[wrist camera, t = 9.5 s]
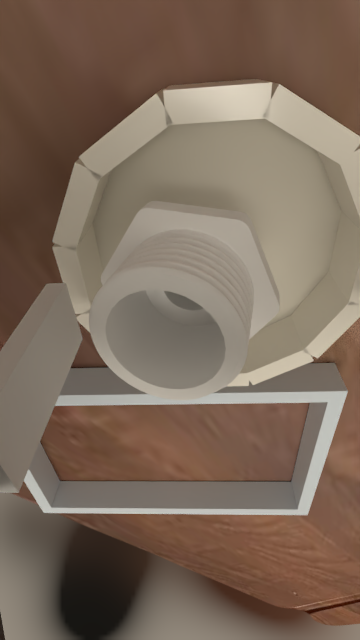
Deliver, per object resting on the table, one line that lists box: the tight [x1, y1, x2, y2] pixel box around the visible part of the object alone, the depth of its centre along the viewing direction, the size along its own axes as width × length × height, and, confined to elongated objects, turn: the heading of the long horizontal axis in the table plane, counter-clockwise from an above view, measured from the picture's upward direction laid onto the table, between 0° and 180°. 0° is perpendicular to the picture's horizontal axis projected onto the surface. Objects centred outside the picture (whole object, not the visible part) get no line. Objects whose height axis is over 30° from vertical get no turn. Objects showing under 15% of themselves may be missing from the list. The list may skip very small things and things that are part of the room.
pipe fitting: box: [89, 201, 280, 400], centre depth 14 cm, size 6×7×8 cm
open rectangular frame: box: [24, 363, 348, 515], centre depth 28 cm, size 16×24×2 cm, turn 94°
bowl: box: [52, 79, 360, 386], centre depth 17 cm, size 14×14×4 cm
